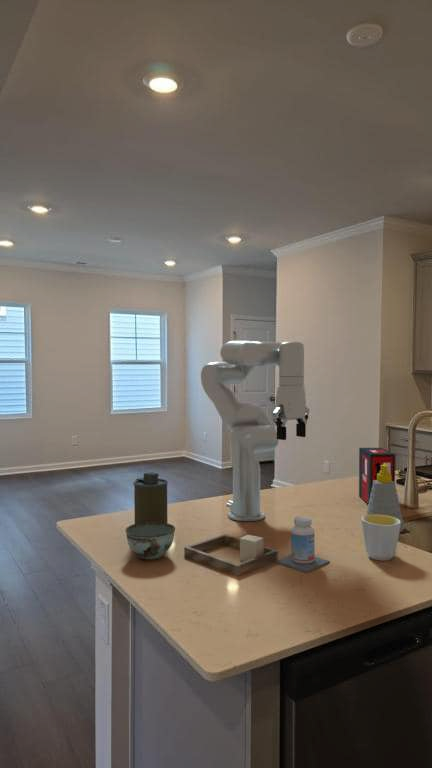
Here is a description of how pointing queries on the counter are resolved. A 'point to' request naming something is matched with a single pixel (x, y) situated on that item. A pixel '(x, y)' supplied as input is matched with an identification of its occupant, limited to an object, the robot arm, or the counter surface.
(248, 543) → the tan box
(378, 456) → the cleaning product box
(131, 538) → the bowl
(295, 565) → the slate mat
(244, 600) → the counter surface
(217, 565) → the parts frame
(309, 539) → the pill bottle
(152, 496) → the canister
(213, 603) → the counter surface
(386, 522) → the mug
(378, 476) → the soap bottle
